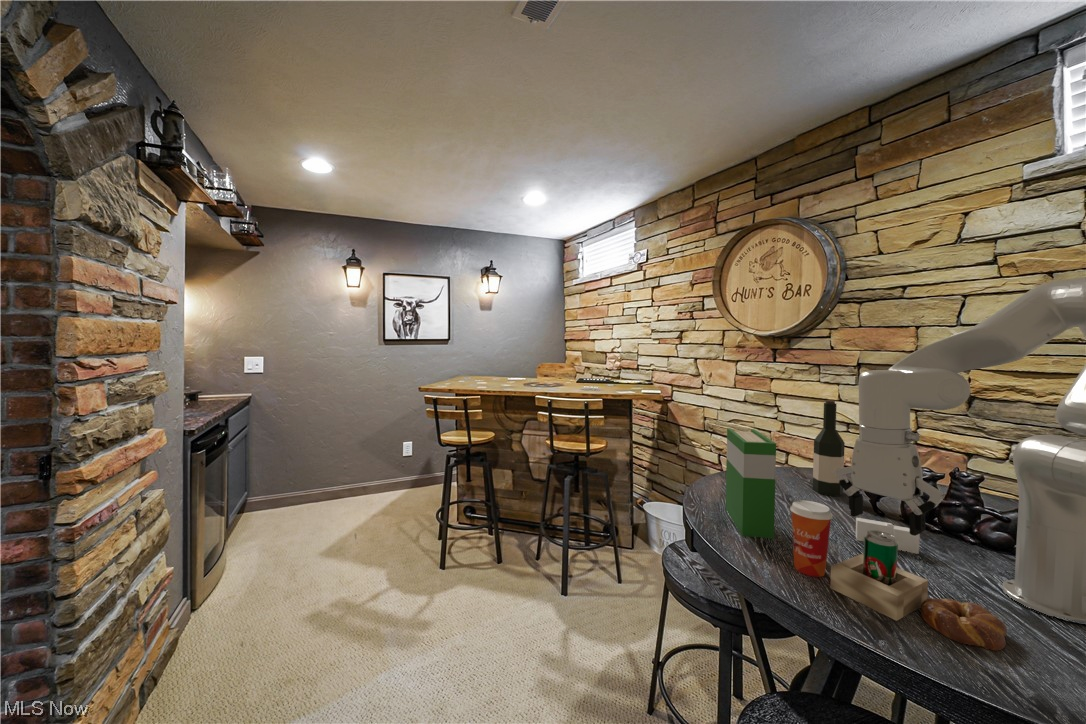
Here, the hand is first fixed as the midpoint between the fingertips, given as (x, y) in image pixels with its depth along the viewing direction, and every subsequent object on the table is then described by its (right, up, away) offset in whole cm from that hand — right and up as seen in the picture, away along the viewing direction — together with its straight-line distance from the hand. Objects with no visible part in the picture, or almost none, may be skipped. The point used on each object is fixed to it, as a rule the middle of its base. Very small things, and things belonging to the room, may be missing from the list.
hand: (884, 523), depth 80 cm
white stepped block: (+18, -14, +21) cm, 30 cm away
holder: (-1, -14, +1) cm, 14 cm away
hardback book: (-10, -13, +34) cm, 37 cm away
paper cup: (-8, -14, +10) cm, 19 cm away
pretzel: (+6, -15, -8) cm, 18 cm away
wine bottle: (+28, -12, +57) cm, 65 cm away
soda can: (-1, -14, +1) cm, 14 cm away
